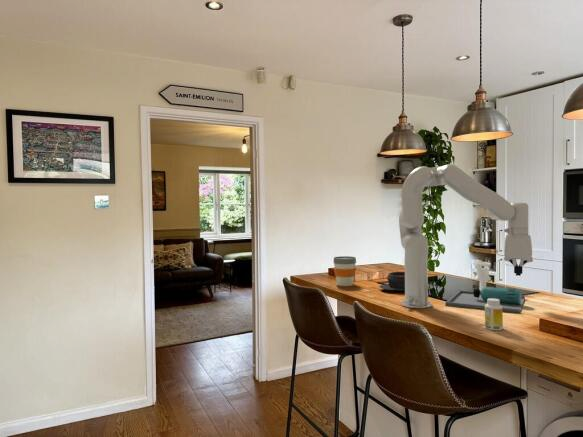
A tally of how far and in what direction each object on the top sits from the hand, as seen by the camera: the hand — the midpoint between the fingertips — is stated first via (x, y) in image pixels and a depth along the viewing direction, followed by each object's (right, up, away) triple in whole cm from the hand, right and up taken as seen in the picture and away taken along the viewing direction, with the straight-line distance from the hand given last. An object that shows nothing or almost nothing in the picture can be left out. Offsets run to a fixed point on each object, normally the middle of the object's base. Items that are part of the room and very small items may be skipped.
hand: (518, 275), depth 175 cm
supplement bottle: (-25, -15, -31) cm, 42 cm away
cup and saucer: (-38, -13, +38) cm, 55 cm away
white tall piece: (0, -12, +32) cm, 34 cm away
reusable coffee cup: (-66, -13, +55) cm, 87 cm away
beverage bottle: (+2, -9, -2) cm, 10 cm away
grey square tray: (-10, -13, +7) cm, 18 cm away
